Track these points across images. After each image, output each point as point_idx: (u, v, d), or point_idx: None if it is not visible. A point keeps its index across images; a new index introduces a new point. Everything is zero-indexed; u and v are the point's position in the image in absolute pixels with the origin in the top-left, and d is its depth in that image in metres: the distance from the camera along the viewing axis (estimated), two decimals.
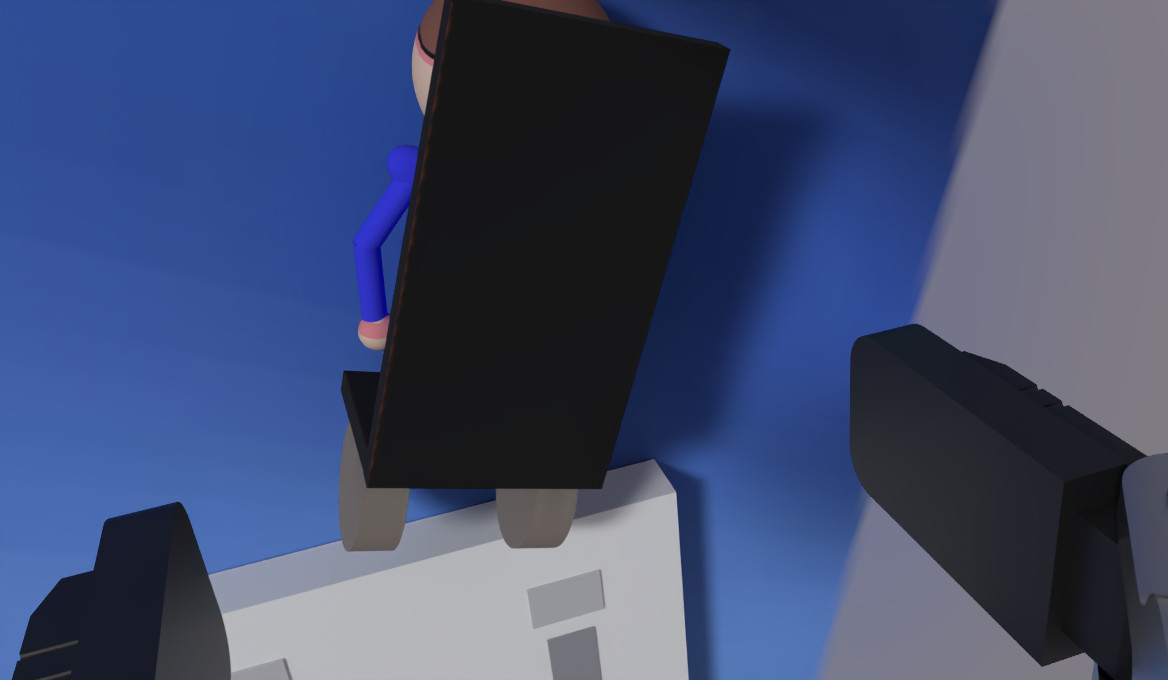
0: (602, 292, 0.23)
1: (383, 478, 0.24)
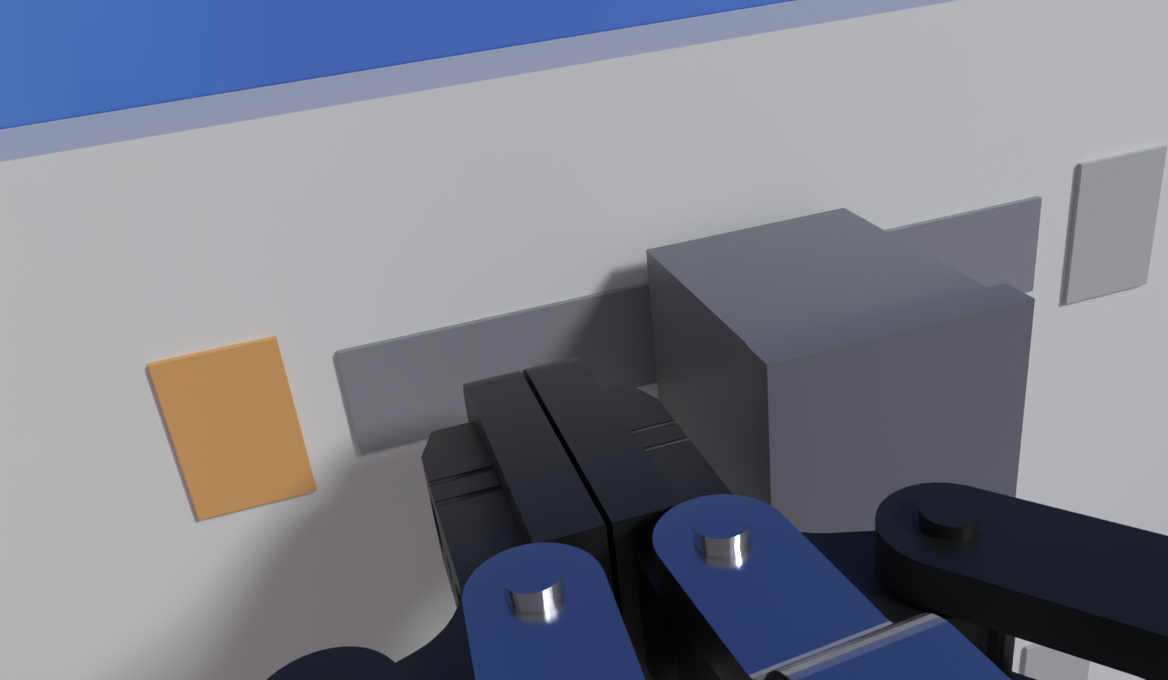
0: None
1: None
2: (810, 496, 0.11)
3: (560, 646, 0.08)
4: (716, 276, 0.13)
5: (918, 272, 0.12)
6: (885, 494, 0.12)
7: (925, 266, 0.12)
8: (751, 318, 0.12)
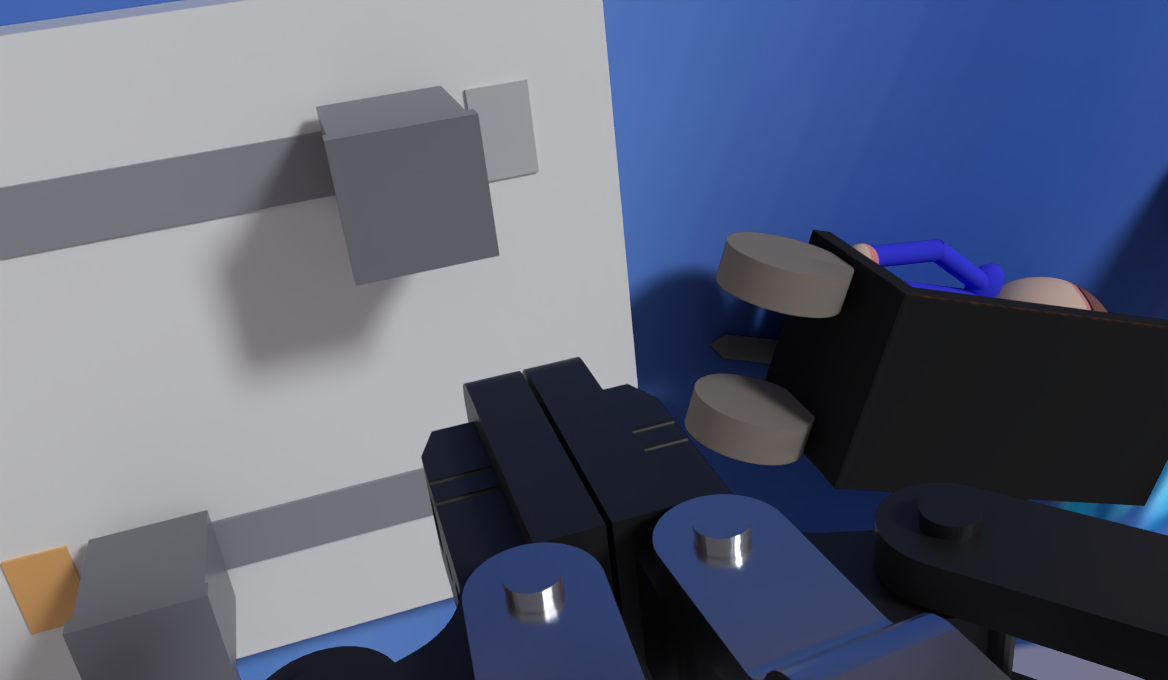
0: (1011, 456, 0.30)
1: (910, 306, 0.27)
2: (365, 219, 0.22)
3: (560, 646, 0.08)
4: (340, 115, 0.23)
5: (442, 108, 0.23)
6: (412, 222, 0.22)
7: (449, 106, 0.23)
8: (339, 128, 0.22)
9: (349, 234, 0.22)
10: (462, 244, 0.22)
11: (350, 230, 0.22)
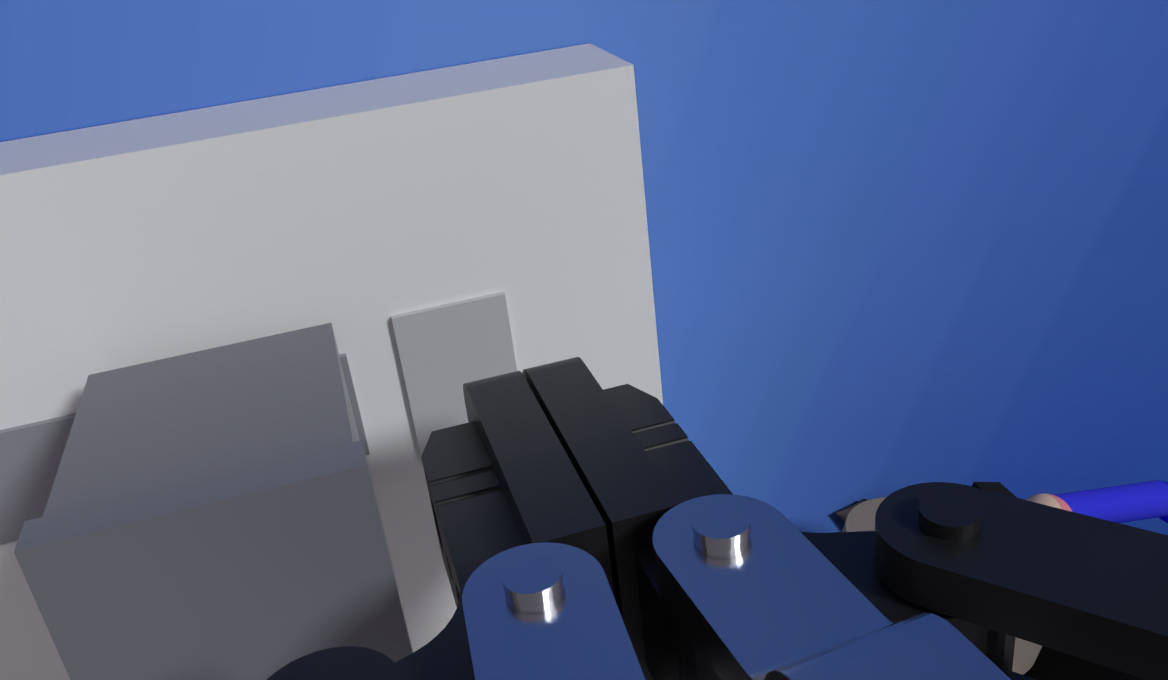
0: None
1: None
2: None
3: (559, 646, 0.08)
4: (113, 416, 0.12)
5: (309, 417, 0.11)
6: (235, 674, 0.10)
7: (323, 410, 0.11)
8: (85, 478, 0.10)
9: None
10: None
11: None
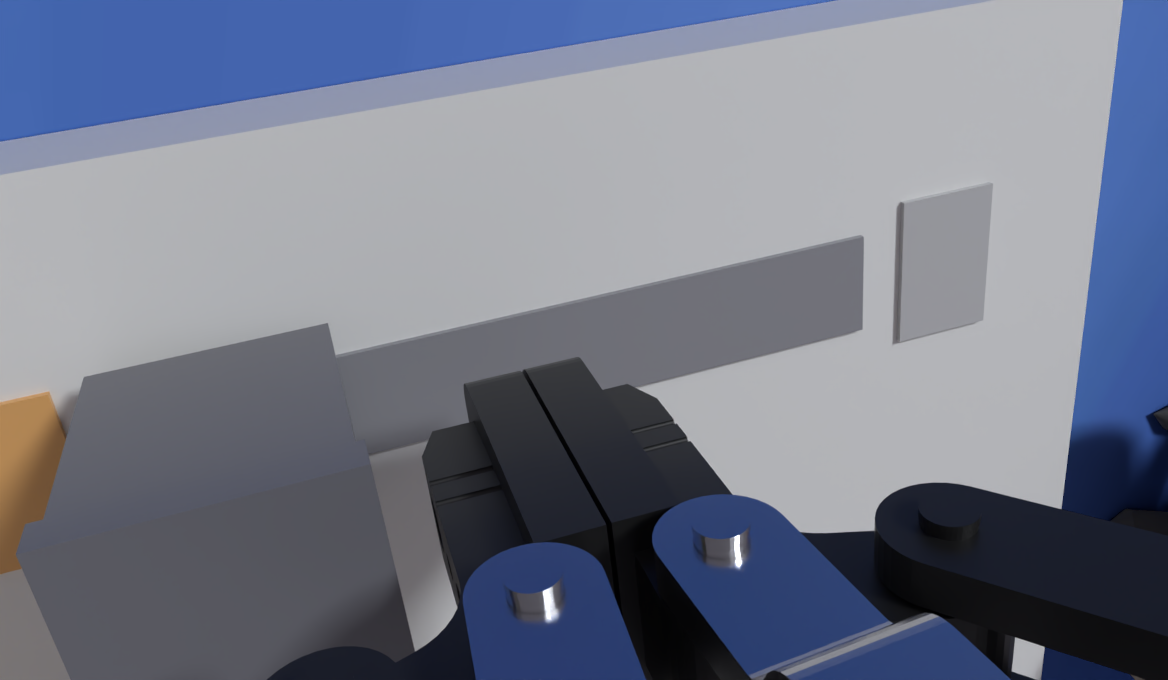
0: None
1: None
2: None
3: (560, 646, 0.08)
4: (111, 417, 0.12)
5: (309, 417, 0.11)
6: (238, 676, 0.10)
7: (324, 410, 0.11)
8: (84, 480, 0.10)
9: None
10: None
11: None
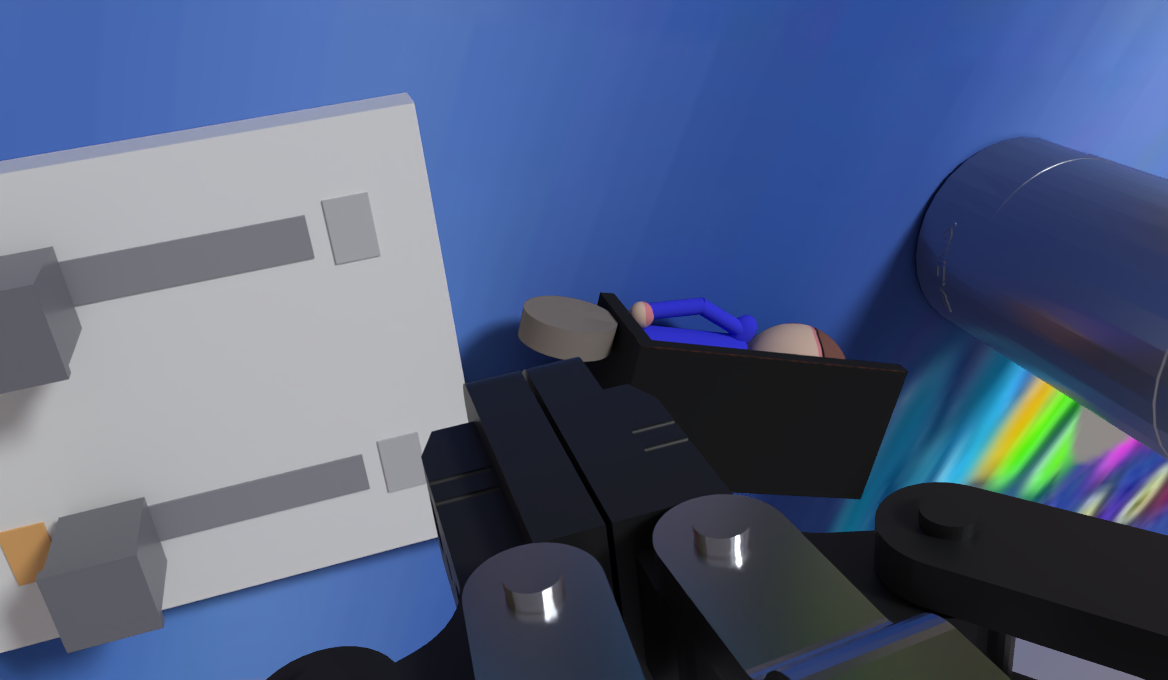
0: (744, 462, 0.40)
1: (646, 354, 0.37)
2: None
3: (560, 646, 0.08)
4: None
5: (25, 274, 0.31)
6: None
7: (31, 272, 0.32)
8: None
9: None
10: (37, 372, 0.31)
11: None
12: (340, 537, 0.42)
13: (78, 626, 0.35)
